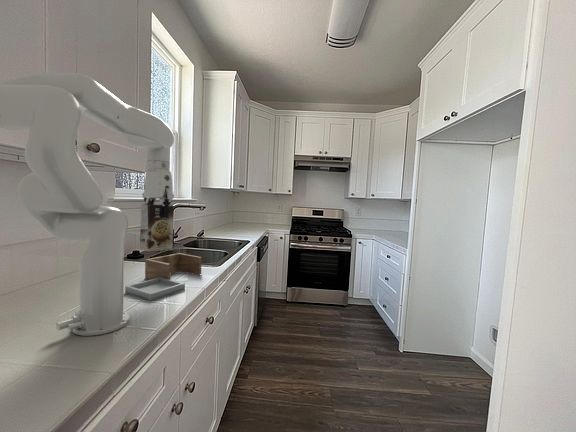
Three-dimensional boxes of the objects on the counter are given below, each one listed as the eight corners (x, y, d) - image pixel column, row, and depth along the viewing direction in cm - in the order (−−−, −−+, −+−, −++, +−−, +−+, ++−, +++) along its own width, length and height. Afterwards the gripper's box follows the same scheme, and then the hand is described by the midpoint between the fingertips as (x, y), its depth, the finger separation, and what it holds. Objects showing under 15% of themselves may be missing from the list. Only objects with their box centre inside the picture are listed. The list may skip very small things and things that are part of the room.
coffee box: (147, 251, 92) (148, 204, 91) (139, 249, 96) (140, 203, 95) (173, 249, 99) (174, 205, 99) (164, 246, 103) (165, 204, 102)
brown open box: (167, 284, 107) (168, 264, 106) (145, 278, 113) (145, 259, 113) (201, 274, 122) (201, 257, 121) (179, 269, 129) (179, 253, 128)
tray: (150, 301, 89) (150, 294, 89) (125, 292, 96) (125, 286, 96) (184, 289, 102) (184, 283, 101) (160, 282, 108) (160, 277, 108)
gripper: (183, 167, 95) (182, 218, 96) (152, 169, 104) (151, 215, 105) (165, 164, 89) (163, 218, 90) (133, 166, 97) (132, 215, 98)
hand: (157, 216), depth 97 cm, fingers closed on coffee box, 6 cm apart
